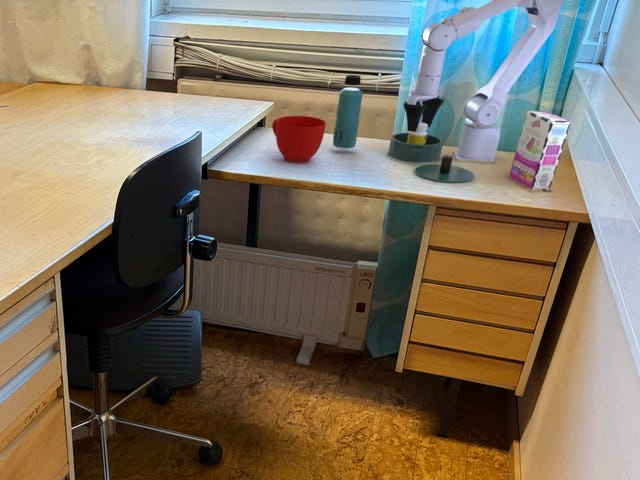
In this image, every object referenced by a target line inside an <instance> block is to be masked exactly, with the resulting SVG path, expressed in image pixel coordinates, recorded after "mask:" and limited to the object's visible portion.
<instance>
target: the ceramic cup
mask: <svg viewBox="0 0 640 480" xmlns="http://www.w3.org/2000/svg"><path fill="white" fill-rule="evenodd" d="M326 124H327V123H326V121H325V120H324V119H321V118H318V117H315V116H306V115H287V116H286V115H285V116H281V117H279V118H276V119H274V120H273V122H272V124H271V125H272V126H271V127H272V132H273V134H274V136H275V141H276V145H277V148H278V151H279V153H280V154H281V156H282V157H283V159H284V161H287V162H289V163H296V164H297V163H298V164H299V163H300V164H302V163H307V162H309V161H310V160H311V159H312V158H313V157H314V156H315V155H316V154H317V152H318V151H319V149H320V147H321V145H322V142H323V139H324V136H325V132H326V126H327V125H326Z"/></svg>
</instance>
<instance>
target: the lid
mask: <svg viewBox="0 0 640 480" xmlns="http://www.w3.org/2000/svg"><path fill="white" fill-rule="evenodd" d="M453 158H454V157H453V156H451V155H443V156H442V158H441V162H440V164H438V163H437V164H423V165H419V166H416V168H415V169H414V174H415V175H416V176H418V177H419V178H421V179H424V180H427V181H429V182H430V181H431V182H435V183H441V184H442V183H443V184H464V183H469V182H471V181H473V180H474V179H475V174H474V173H473V171H470V170H468V169H466V168H463V167H459V166H455V165H452V164H453Z"/></svg>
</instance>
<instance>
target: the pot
mask: <svg viewBox="0 0 640 480" xmlns="http://www.w3.org/2000/svg"><path fill="white" fill-rule="evenodd" d="M408 136H409V132H400V133H394V134H392V135H391V137H390V140H389V141H390V142H389V147H388V153H387V154H388V156H390V157H391V158H393V159H395V160H398V161H403V162H409V163H433V162H437V161H439V160H440V159H441V156H442V151H443V146H444V139H442V138H441V137H439V136H436V135H433V134H428V133H427V138H426V143H425V145H415V144H408V143H407V141H408Z"/></svg>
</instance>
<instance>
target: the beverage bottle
mask: <svg viewBox="0 0 640 480" xmlns="http://www.w3.org/2000/svg"><path fill="white" fill-rule="evenodd" d="M361 78H362V76H360V75H358V74H348V75H346V76H345V79H344V85H347V86H360V85H361V83H362V82H361ZM363 96H364V93H363V92H362V90H361V89H359V88H357V87H344V88H343V89H341V90H340V91H339V93H338V103H337V106H336V116H335V124H334V129H333V135H332V136H333V137H332V145H333V147H335V148H340V149H353V148H355V147H356V144H357V139H358V131H359V125H360V116H361V115H360V114H361V108H362V101H363Z"/></svg>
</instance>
